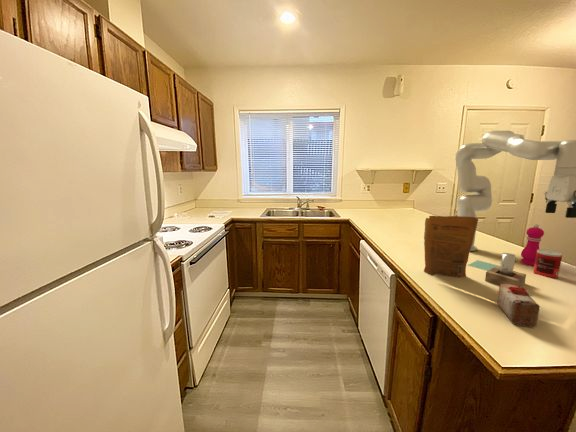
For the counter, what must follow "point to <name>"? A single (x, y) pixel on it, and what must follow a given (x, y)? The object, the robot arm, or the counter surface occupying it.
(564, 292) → the counter surface
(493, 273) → the socket block
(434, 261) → the pancake mix bag
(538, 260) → the canned food
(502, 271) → the steel pin
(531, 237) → the pepper mill
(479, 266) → the mat
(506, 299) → the food item
